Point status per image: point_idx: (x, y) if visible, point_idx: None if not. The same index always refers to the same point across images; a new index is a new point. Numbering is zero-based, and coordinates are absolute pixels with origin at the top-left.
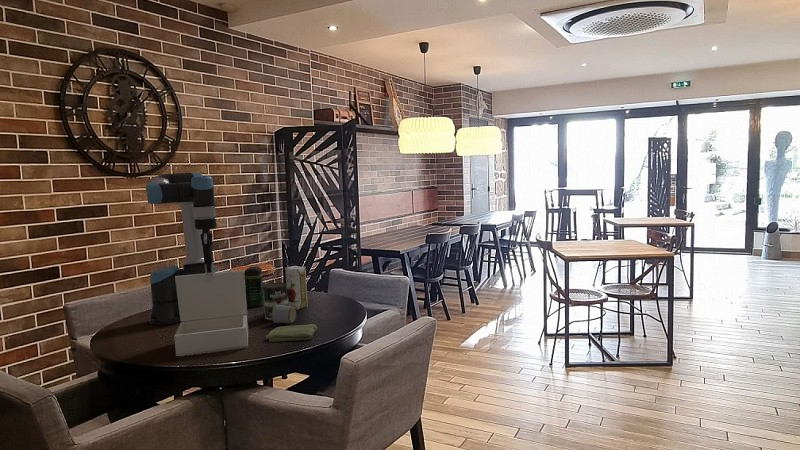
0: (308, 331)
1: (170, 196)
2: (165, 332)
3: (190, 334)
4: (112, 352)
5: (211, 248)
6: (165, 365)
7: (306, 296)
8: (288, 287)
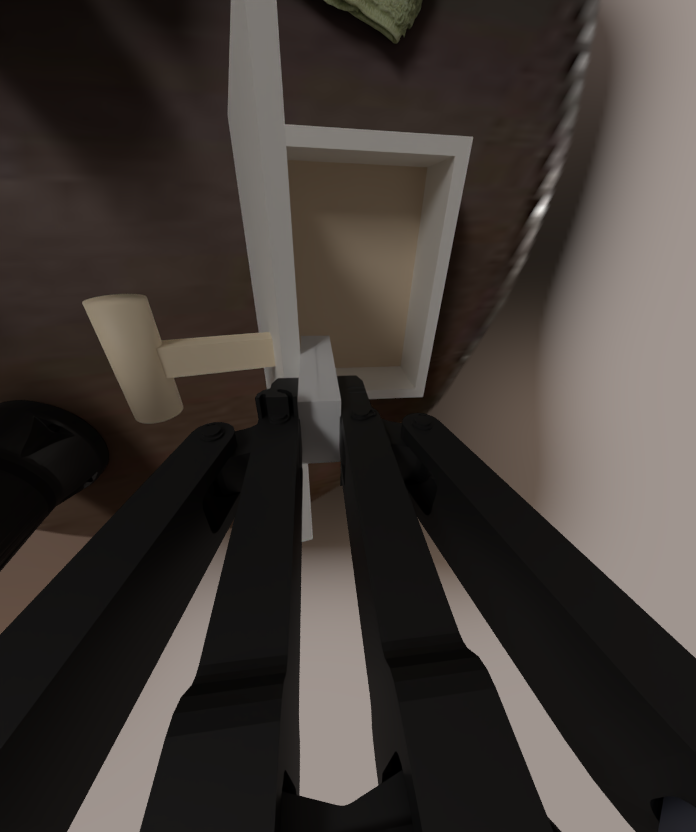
0: None
1: None
2: (183, 428)
3: (430, 357)
4: (313, 489)
5: (223, 572)
6: (450, 383)
7: None
8: None
